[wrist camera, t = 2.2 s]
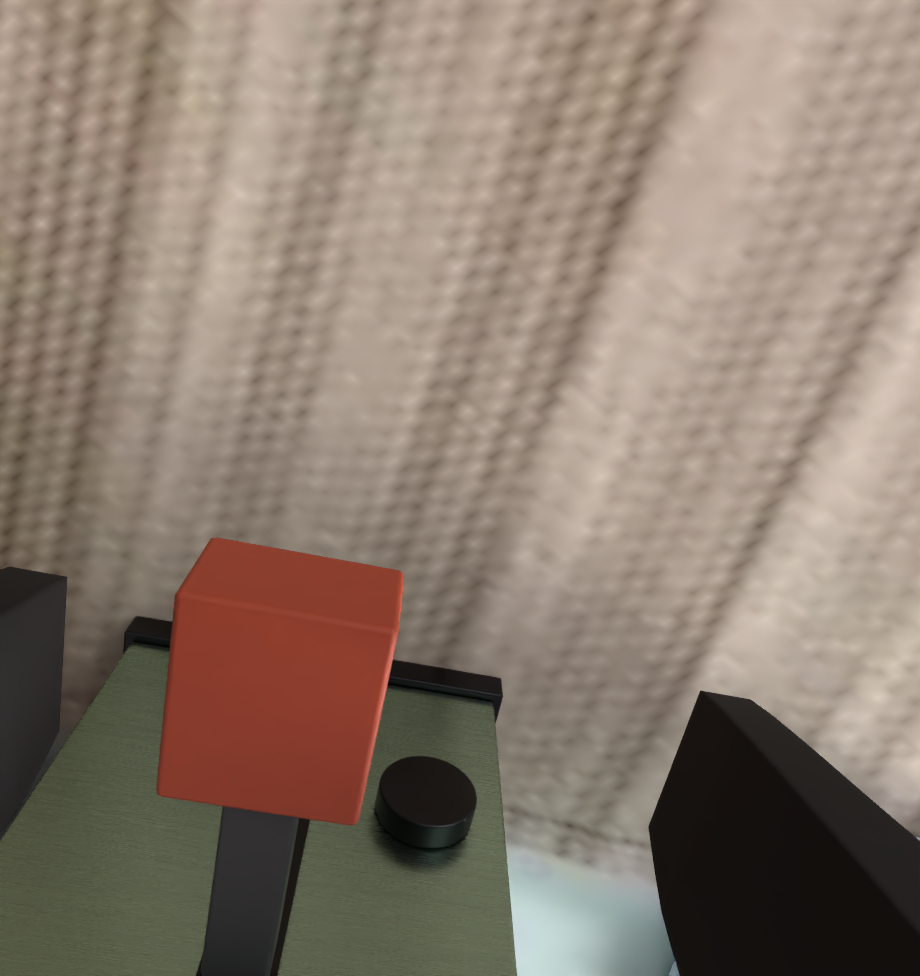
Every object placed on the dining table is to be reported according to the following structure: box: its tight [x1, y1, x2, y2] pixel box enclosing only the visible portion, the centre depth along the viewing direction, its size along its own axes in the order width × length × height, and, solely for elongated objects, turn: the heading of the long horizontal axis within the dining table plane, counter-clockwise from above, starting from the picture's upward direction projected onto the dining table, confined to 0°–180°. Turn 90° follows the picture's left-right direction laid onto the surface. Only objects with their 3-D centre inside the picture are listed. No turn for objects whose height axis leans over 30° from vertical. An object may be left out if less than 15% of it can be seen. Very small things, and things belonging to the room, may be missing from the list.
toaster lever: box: [156, 538, 404, 976], centre depth 11 cm, size 6×3×2 cm, turn 168°
